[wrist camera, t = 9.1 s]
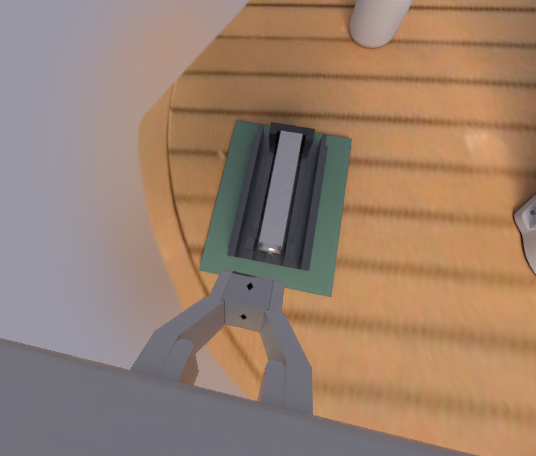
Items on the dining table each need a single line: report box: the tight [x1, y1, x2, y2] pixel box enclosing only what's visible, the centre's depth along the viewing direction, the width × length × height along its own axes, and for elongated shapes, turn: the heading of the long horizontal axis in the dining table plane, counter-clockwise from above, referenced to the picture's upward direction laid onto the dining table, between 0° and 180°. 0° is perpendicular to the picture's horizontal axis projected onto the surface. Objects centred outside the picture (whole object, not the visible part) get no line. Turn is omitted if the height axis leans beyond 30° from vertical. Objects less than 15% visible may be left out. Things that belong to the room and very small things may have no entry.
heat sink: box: [227, 123, 328, 271], centre depth 29 cm, size 20×12×6 cm, turn 169°
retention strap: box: [258, 131, 303, 254], centre depth 26 cm, size 17×3×1 cm, turn 169°
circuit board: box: [199, 121, 352, 297], centre depth 32 cm, size 26×20×1 cm
